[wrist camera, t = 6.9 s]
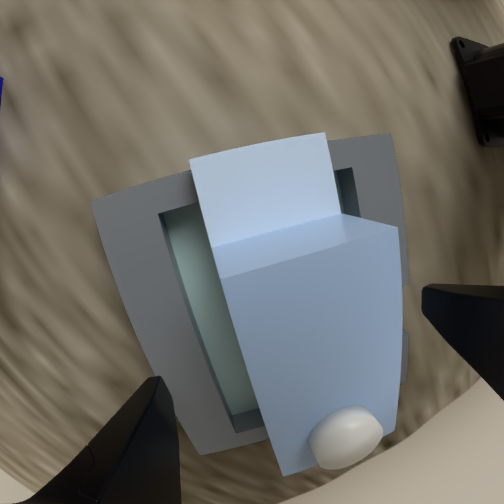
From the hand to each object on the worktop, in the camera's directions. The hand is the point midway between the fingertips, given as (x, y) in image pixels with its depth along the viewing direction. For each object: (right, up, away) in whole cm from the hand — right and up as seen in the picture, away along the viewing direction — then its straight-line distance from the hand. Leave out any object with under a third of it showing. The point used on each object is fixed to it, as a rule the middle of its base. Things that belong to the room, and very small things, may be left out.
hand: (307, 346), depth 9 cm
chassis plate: (-1, +1, +3) cm, 3 cm away
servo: (-1, +1, +3) cm, 3 cm away
